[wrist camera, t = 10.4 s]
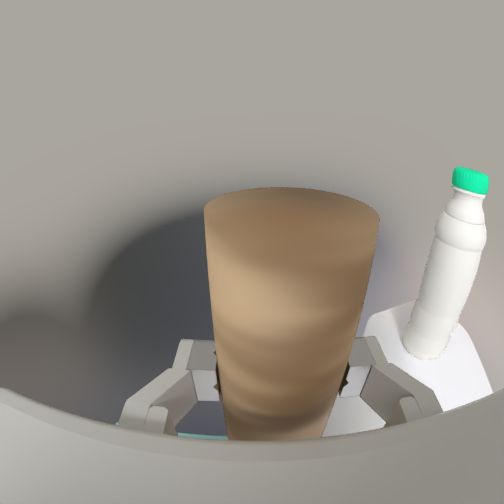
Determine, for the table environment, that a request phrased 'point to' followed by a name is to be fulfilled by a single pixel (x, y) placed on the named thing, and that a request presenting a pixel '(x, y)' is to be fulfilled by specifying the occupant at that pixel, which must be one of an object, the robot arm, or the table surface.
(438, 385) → the table surface
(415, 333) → the water bottle
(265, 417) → the oak post
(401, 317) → the table surface
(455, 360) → the table surface
